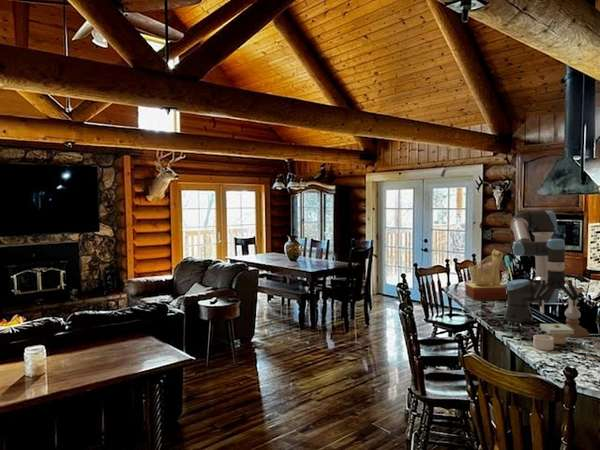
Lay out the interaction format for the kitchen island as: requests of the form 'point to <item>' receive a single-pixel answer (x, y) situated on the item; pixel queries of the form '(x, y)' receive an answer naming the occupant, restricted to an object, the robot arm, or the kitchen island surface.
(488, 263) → the decorative skull
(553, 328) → the lid
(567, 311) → the candle holder
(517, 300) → the robot arm
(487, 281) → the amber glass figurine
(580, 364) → the kitchen island surface
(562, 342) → the block
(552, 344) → the bowl
